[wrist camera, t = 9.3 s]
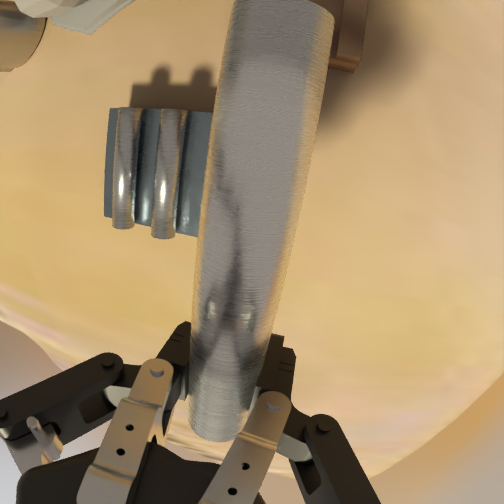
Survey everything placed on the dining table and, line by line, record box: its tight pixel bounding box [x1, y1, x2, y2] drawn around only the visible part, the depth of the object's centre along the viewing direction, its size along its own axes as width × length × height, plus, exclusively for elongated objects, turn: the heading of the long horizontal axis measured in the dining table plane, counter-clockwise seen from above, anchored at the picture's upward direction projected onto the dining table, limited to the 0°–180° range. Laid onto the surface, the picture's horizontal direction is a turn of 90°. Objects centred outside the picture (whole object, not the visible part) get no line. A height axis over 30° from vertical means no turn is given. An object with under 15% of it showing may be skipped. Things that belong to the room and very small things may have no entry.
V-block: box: [104, 107, 213, 239], centre depth 23 cm, size 10×10×5 cm
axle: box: [188, 0, 335, 442], centre depth 9 cm, size 16×3×3 cm, turn 171°
